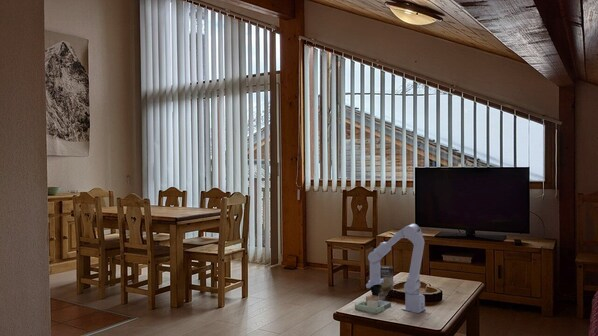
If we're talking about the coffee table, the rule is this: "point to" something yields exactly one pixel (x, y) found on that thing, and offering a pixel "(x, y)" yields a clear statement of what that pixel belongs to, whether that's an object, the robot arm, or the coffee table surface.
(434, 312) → the coffee table surface
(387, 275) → the coffee box
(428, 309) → the coffee table surface
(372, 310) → the green tray
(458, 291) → the coffee table surface
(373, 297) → the terracotta tile
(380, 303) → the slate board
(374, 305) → the cream tile
